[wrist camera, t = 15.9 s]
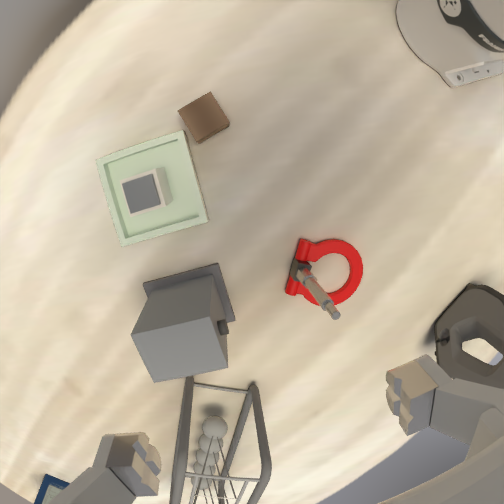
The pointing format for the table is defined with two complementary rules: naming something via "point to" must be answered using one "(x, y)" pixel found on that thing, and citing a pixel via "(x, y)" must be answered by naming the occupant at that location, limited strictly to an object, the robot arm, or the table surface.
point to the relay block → (146, 191)
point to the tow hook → (307, 283)
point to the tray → (180, 182)
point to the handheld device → (472, 335)
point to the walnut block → (204, 117)
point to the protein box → (49, 489)
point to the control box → (184, 324)
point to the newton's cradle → (217, 449)
